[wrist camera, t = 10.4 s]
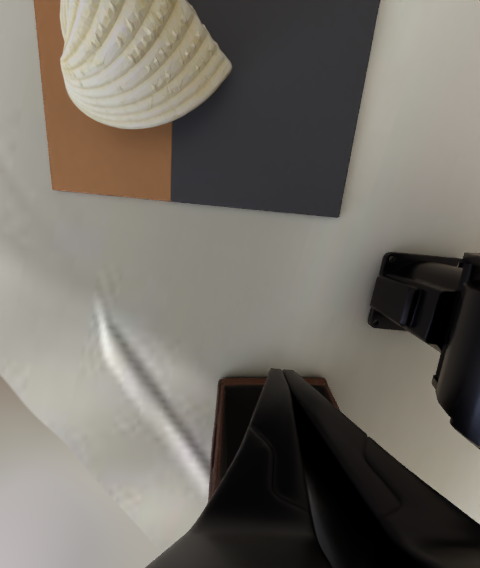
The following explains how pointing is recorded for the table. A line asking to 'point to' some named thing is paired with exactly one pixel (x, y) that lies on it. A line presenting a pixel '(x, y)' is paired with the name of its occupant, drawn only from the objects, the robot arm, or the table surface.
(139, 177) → the desk pad
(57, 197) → the table surface
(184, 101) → the seashell
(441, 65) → the table surface
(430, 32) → the table surface
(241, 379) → the letter holder
